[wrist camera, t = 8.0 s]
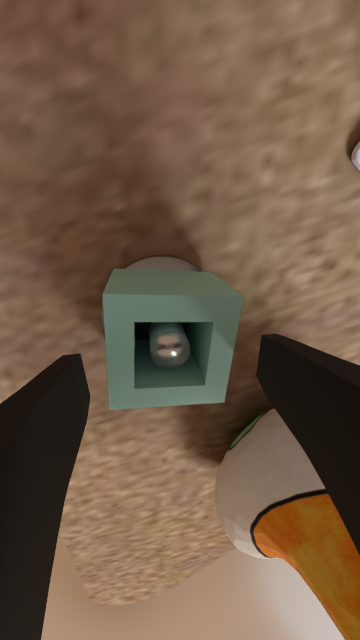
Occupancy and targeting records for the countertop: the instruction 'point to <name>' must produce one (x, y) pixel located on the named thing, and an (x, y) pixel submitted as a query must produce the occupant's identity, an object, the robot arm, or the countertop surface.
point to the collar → (169, 306)
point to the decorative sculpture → (289, 516)
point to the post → (163, 336)
